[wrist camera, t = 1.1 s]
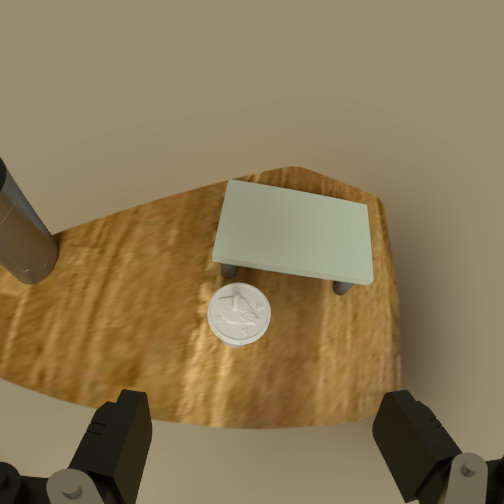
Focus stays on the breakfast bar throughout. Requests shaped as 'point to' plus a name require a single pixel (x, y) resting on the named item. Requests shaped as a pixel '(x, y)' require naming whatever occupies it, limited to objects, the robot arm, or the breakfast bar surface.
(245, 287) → the smoothie
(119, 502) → the robot arm
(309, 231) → the small table
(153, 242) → the breakfast bar surface
